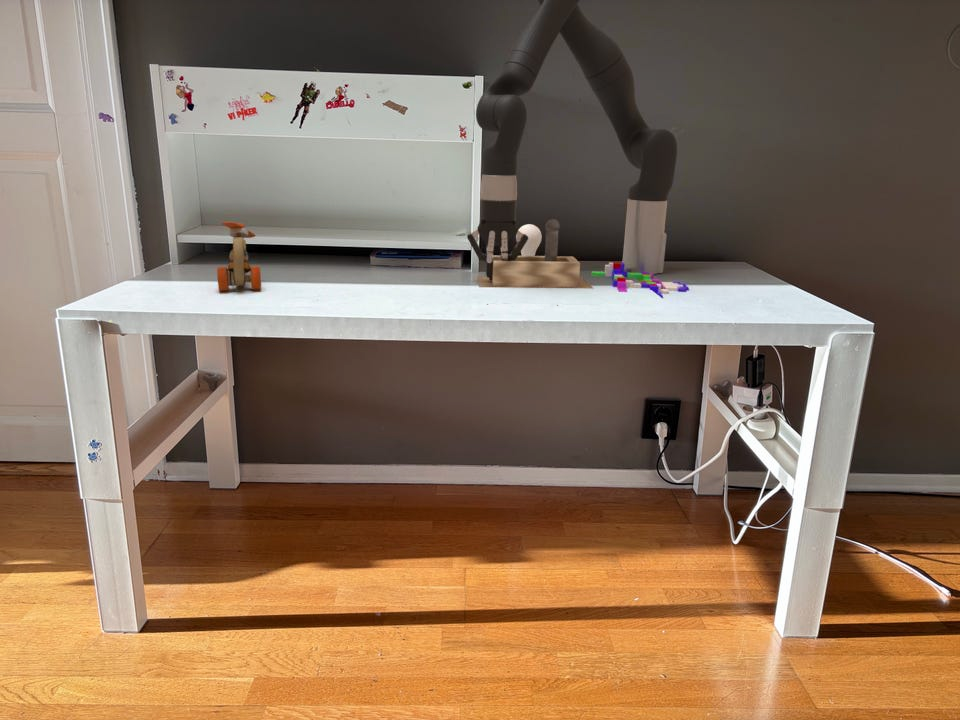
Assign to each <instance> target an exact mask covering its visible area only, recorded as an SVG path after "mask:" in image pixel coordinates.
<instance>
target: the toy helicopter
mask: <svg viewBox="0 0 960 720" xmlns="http://www.w3.org/2000/svg"><path fill="white" fill-rule="evenodd" d="M221 225H222V226H224V227H226V228H228V229H229V236H230V237H232V250H230V252H229V257H228V258H229V261H230V263H228V264H227V267H226V266H218V267H217V269H216V270H217V271H216V272H217V273H216V274H217V285H218V291H220V292H228V291H229V289H230V287H234V286H237V287H241V286H242V287H243V286H245V285H246V284H247V282H249V283H251V284H250V285H251V286H250V287H251V290H252V291H260V290H262V280H261V279H262V277H261V267H260V266H258V265H252V266H251V265H250V263H248V261H249V253H248V251H247V243H246V242H247V241H246V239H250V238H251V239H252V238H255V237H256V234H255V233H253V232H252V231H250V230H249V229H246V227H245V225H244V223H241V222H234V221H224V222H221ZM248 273H250V275H246V274H248Z"/></svg>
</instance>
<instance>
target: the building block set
mask: <svg viewBox="0 0 960 720" xmlns="http://www.w3.org/2000/svg"><path fill="white" fill-rule="evenodd" d="M590 274H591V276H592V277H609V278H610V277H611V278H612V287H613V288H617V291H618V292H621V293H628V290H627V288H629V289H649V290H650V291H652V292H653V293H655V294H656V295H657V296H658V297H660V298H661V299H663V298H664V297H663V295H669V294H670V291H671V292H672V291H673V292H678V293H687V291H690V288H689V286H687V284H686V283H681V281H660V279H658V278H654V275H655V274H649V273H648V272H641V273H629V272H627V270H624V263H622V262H608V264H604V271H594V270H593V271H591V273H590ZM626 278H635V279H636V280H637V281H638V282H634V281H633V280H631V279H629V280H628V279H626Z"/></svg>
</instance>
